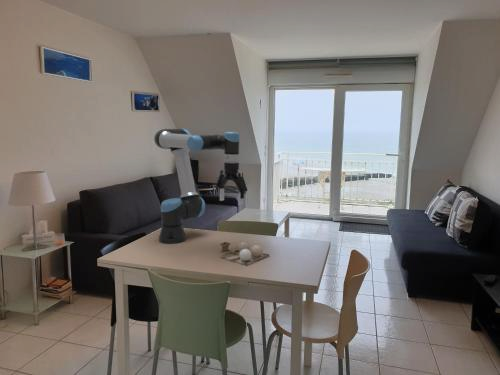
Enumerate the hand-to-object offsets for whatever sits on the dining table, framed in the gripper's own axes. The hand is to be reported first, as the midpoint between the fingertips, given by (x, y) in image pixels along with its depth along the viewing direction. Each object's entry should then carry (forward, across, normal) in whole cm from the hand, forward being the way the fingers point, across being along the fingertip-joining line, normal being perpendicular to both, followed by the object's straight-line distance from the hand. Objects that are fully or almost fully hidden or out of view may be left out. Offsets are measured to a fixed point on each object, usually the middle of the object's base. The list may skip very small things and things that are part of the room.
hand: (231, 202), depth 208 cm
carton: (+24, +16, -7) cm, 30 cm away
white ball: (+24, +20, -11) cm, 33 cm away
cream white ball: (+24, +20, -2) cm, 31 cm away
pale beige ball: (+24, +12, -3) cm, 27 cm away
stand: (+25, +2, -6) cm, 26 cm away
